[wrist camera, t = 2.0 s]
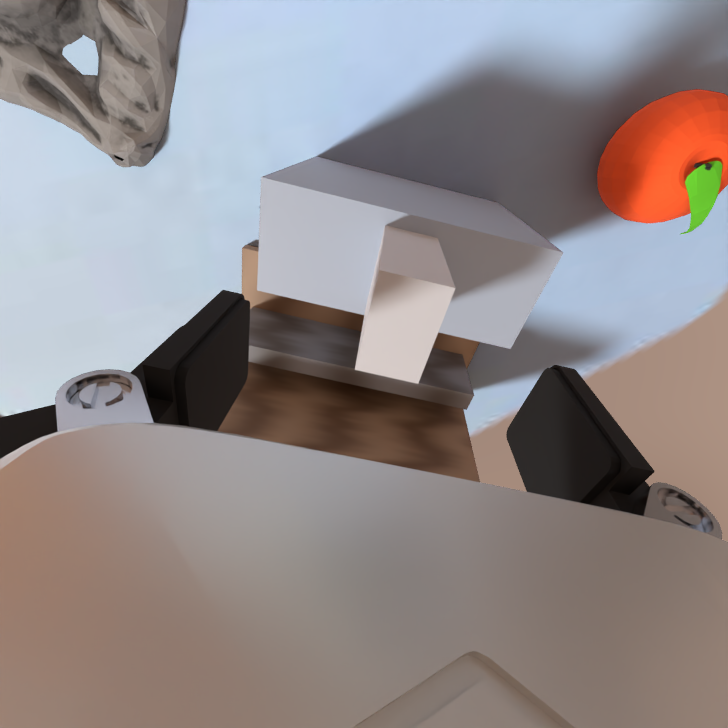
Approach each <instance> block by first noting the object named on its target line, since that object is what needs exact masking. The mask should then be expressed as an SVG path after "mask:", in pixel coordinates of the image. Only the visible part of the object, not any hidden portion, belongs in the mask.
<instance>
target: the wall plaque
mask: <svg viewBox="0 0 728 728" xmlns="http://www.w3.org/2000/svg"><path fill="white" fill-rule="evenodd" d="M185 3H186V0H0V99H2V100H4V101H7V102H9V103H13V104H17V105H20V106H23V107H26V108H29V109H32V110H34V111H36V112H38V113H40V114H43V115H45V116H47V117H50V118H52V119H54V120H56V121H58V122H61V123H63V124H64V125H66V126H67V127H69V128H71V129H73V130H75V131H77V132H79V133H81V134H82V135H83V136H84V137H85V138H86V139H87V140H88V141H89V142H90V143H92V144H93V145H94V146H96V147H97V148H98V149H100V150H101V151H103V152H105V153H106V154H108V155H109V156H110V157H111V158H112V159H113V161H114V162H115V163H116V164H117V165H119V166H122V167H131V166H139V167H142V166H145V165H147V164H148V163H149V161H150V160H151V159H152V158H153V156H154V151H155V149H156V147H157V144H159V142H160V140H161V139H162V136H163V133H164V130H165V127H166V124H167V121H168V117H169V112H170V107H171V102H172V97H173V92H174V86H175V78H176V73H175V56H176V51H177V46H178V41H179V35H180V31H181V27H182V21H183V16H184V10H185ZM82 35H85V36H87V37H88V38H90V39H92V40H94V41H95V42H96V47H97V51H98V56H99V64H98V76H95V75H82V74H81V73H80V72H79V71H78V70H77V69H76V68H75V67H74V66H73V65H72V64H71V63H69V62H68V61H67V59H66V58H65V57H64V56H63V55H62V51H63V48H64V47H65V46H66V45H68V44H71V43H73V42H75V41H76V40H78V39H79V38H81V37H82Z"/></svg>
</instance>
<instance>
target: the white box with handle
mask: <svg viewBox="0 0 728 728" xmlns="http://www.w3.org/2000/svg"><path fill="white" fill-rule="evenodd" d="M562 254H563V252H562V251H561V250H559V249H558V248H557V247H556V246H554V245H553V244H552V243H550V242H549V241H548V240H546V239H545V238H544V237H542V236H541V235H540V234H539V233H537V232H536V231H535V230H533V229H532V228H531V227H529V226H528V225H527V224H525V223H524V222H523V221H522V220H520V219H519V218H518V217H516V216H515V215H514V214H512V213H511V212H510V211H509V210H507V209H506V208H505V207H503V206H502V205H501V204H499V203H497V202H493V201H490V200H486V199H482V198H478V197H474V196H470V195H466V194H462V193H458V192H454V191H450V190H446V189H442V188H439V187H435V186H431V185H427V184H423V183H419V182H415V181H411V180H407V179H403V178H399V177H395V176H391V175H388V174H384V173H380V172H376V171H372V170H368V169H364V168H360V167H356V166H352V165H348V164H344V163H340V162H337V161H333V160H329V159H325V158H321V157H317V156H316V157H313V158H311V159H308V160H305V161H303V162H300V163H298V164H295V165H292V166H290V167H287V168H284V169H282V170H279V171H276V172H274V173H271V174H268V175H266V176H263V177H261V197H260V224H259V251H258V278H257V291H262V292H266V293H270V294H275V295H279V296H283V297H288V298H292V299H296V300H301V301H305V302H309V303H314V304H318V305H322V306H327V307H331V308H335V309H340V310H344V311H348V312H353V313H357V314H361V315H364V320H363V326H362V331H361V337H360V343H359V348H358V354H357V360H356V365H355V370H358V371H363V372H367V373H372V374H376V375H381V376H385V377H390V378H394V379H399V380H403V381H408V382H412V383H417V384H418V383H419V380H420V378H421V375H422V373H423V370H424V368H425V365H426V362H427V360H428V357H429V355H430V352H431V350H432V347H433V345H434V342H435V339H436V337H437V334H438V332H439V333H443V334H448V335H452V336H456V337H461V338H465V339H469V340H474V341H478V342H482V343H487V344H491V345H495V346H500V347H504V348H508V349H511V347H512V345H513V343H514V342H515V340H516V338H517V336H518V334H519V333H520V331H521V329H522V327H523V325H524V323H525V322H526V320H527V318H528V316H529V314H530V312H531V311H532V309H533V307H534V305H535V303H536V302H537V300H538V298H539V296H540V294H541V292H542V291H543V289H544V287H545V285H546V283H547V281H548V280H549V278H550V276H551V274H552V272H553V271H554V269H555V267H556V265H557V263H558V261H559V260H560V258H561V256H562Z"/></svg>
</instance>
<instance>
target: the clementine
mask: <svg viewBox="0 0 728 728" xmlns="http://www.w3.org/2000/svg"><path fill="white" fill-rule="evenodd" d="M597 179H598V191H599V193H600V196H601V199H602V201H603V202H604V204H605V205H606V206H607V207H608V208H609V210H611V211H612V212H613V213H614V214H616V215H618V216H620V217H621V218H623V219H625V220H630V221H635V222H642V223H656V222H664V221H668V220H671V219H675V218H678V217H681V216H684V215H687V214H689V213H691V223H690V228H689V229H688V231H687V232H684V233H688V232H690V231H693V230H694V229H695V228H696V227H698V226H699V225H700V224H702V222H703V221H704V220H705V218H706V217H707V216H708V214H709V212H710V211H711V209H712V207H713V205H714V203H715V200H716V198H717V196H718V194H719V193H720V192H721V191H722V190H723V189H724V188H725V187H726V186H727V185H728V96H727V95H726V94H724V93H719V92H713V91H708V90H700V89H695V90H688V91H681V92H677V93H674V94H671V95H668V96H666V97H663V98H661V99H658V100H656V101H653V102H651V103H649V104H648V105H646V106H645V107H643V108H642V109H640V110H639V111H637V112H636V113H634V114H633V115H632V116H631V117H630V118H629V119H628V120H627V121H626V122H625V123H624V124H623V125H622V126H621V127H620V128H619V129H618V130H617V131H616V132H615V134H614V135H613V137H612V138H611V139H610V141H609V142H608V144H607V145H606V147H605V150H604V152H603V154H602V156H601V158H600V162H599V167H598V171H597ZM684 233H681V234H684Z"/></svg>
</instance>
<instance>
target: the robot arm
mask: <svg viewBox="0 0 728 728" xmlns="http://www.w3.org/2000/svg"><path fill="white" fill-rule="evenodd" d="M249 329H250V302H249V301H248V300H245V298H244V295H243V294H239V293H234V292H230V291H225V290H223V291H221V292H220V293H219V294H218V295H217V296H216V297H215V298H214V299H212V300H211V301H210V302H209V303H208V304H207V305H206V306H205V307H204V308H203V309H202V310H201V311H199V312H198V313H197V314H196V315H195V316H194V317H193V318H192V319H191V320H190V321H189V322H188V323H186V324H185V325H184V326H182V327H180V328H179V329H178V330H177V331H175V332H174V333H173V334H172V335H171V336H170V337H169V338H168V339H167V340H166V341H165V342H163V343H162V344H161V345H160V346H159V347H158V348H157V349H156V350H155V351H154V352H152V353H151V354H150V355H149V356H148V357H147V358H146V359H145V360H144V361H143V362H142V363H140V364H139V365H138V366H137V367H136V368H135V369H134V370H133V371H132V372H131V373H129V372H125V371H122V370H111V369H107V370H96V371H92V372H88V373H84V374H81V375H79V376H76V377H74V378H72V379H70V380H69V381H67V382H66V383H64V384H63V385H62V386H61V387H60V389H59V390H58V391H57V393H56V397H55V403H56V404H55V405H51V406H47V407H43V408H38V409H34V410H30V411H26V412H22V413H18V414H14V415H9V416H5V417H1V418H0V728H728V542H726V541H724V540H722V531H721V527H720V524H719V523H718V521H717V520H716V518H715V517H714V516H713V514H712V513H711V512H710V511H709V510H708V509H707V508H706V507H705V506H704V505H703V504H701V503H700V502H699V501H698V500H697V499H695V498H694V497H692V496H691V495H690V494H688V493H686V492H685V491H683V490H681V489H679V488H677V487H675V486H672V485H669V484H667V483H661V482H658V483H653V484H652V485H651V486H650V487H649V486H648V484H647V483H646V482H645V480H646V479H647V478H648V477H649V476H650V475H652V473H654V470H653V469H652V467H651V466H650V465H649V464H648V462H647V461H646V460H645V459H644V457H643V456H642V455H641V453H640V452H639V451H638V449H637V448H636V447H635V446H634V445H633V443H632V442H631V440H630V439H629V438H628V437H627V435H626V434H625V433H624V432H623V430H622V429H621V428H620V426H619V425H618V424H617V422H616V421H615V420H614V419H613V417H612V416H611V415H610V413H609V412H608V411H607V410H606V408H605V407H604V406H603V404H602V403H601V402H600V401H599V399H598V398H597V397H596V396H595V394H594V393H593V392H592V390H591V389H590V388H589V386H588V385H587V384H586V383H585V381H584V380H583V379H582V377H581V376H580V375H579V374H578V372H577V371H576V370H575V369H571V368H567V367H562V366H558V365H554V366H552V367H551V368H547V369H545V370H544V372H543V373H542V375H541V376H540V378H539V379H538V381H537V383H536V384H535V386H534V387H533V389H532V391H531V392H530V394H529V395H528V397H527V399H526V400H525V402H524V403H523V405H522V407H521V408H520V410H519V411H518V413H517V415H516V416H515V418H514V419H513V421H512V423H511V424H510V426H509V428H508V430H507V440H508V443H509V445H510V448H511V450H512V453H513V456H514V458H515V461H516V464H517V466H518V469H519V472H520V475H521V477H522V480H523V482H524V485H525V487H526V490H527V492H525V491H520V490H515V489H510V488H505V487H500V486H495V485H490V484H485V483H480V482H475V481H470V480H465V479H460V478H455V477H450V476H445V475H440V474H435V473H430V472H425V471H420V470H415V469H410V468H405V467H400V466H395V465H390V464H385V463H380V462H375V461H370V460H365V459H360V458H355V457H350V456H345V455H340V454H335V453H330V452H325V451H320V450H315V449H309V448H304V447H299V446H294V445H289V444H284V443H279V442H273V441H268V440H263V439H258V438H253V437H248V436H243V435H237V434H231V433H225V432H219V431H218V429H219V427H220V426H221V424H222V422H223V421H224V419H225V417H226V415H227V414H228V412H229V410H230V409H231V407H232V405H233V404H234V402H235V400H236V398H237V397H238V395H239V393H240V392H241V390H242V388H243V386H244V385H245V383H246V380H247V376H248V360H249Z"/></svg>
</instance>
